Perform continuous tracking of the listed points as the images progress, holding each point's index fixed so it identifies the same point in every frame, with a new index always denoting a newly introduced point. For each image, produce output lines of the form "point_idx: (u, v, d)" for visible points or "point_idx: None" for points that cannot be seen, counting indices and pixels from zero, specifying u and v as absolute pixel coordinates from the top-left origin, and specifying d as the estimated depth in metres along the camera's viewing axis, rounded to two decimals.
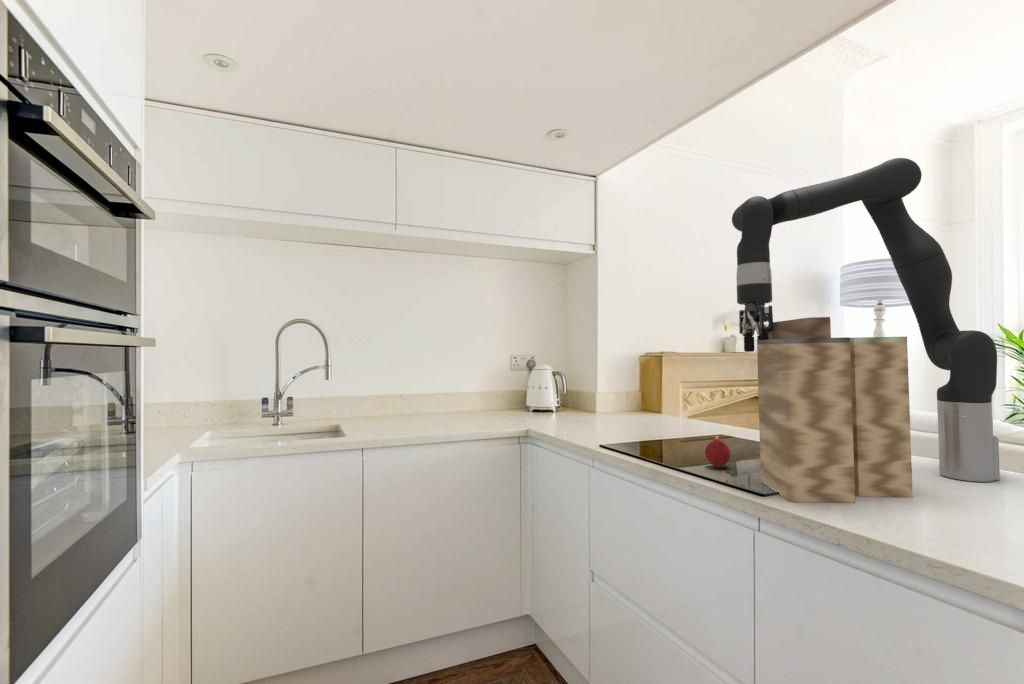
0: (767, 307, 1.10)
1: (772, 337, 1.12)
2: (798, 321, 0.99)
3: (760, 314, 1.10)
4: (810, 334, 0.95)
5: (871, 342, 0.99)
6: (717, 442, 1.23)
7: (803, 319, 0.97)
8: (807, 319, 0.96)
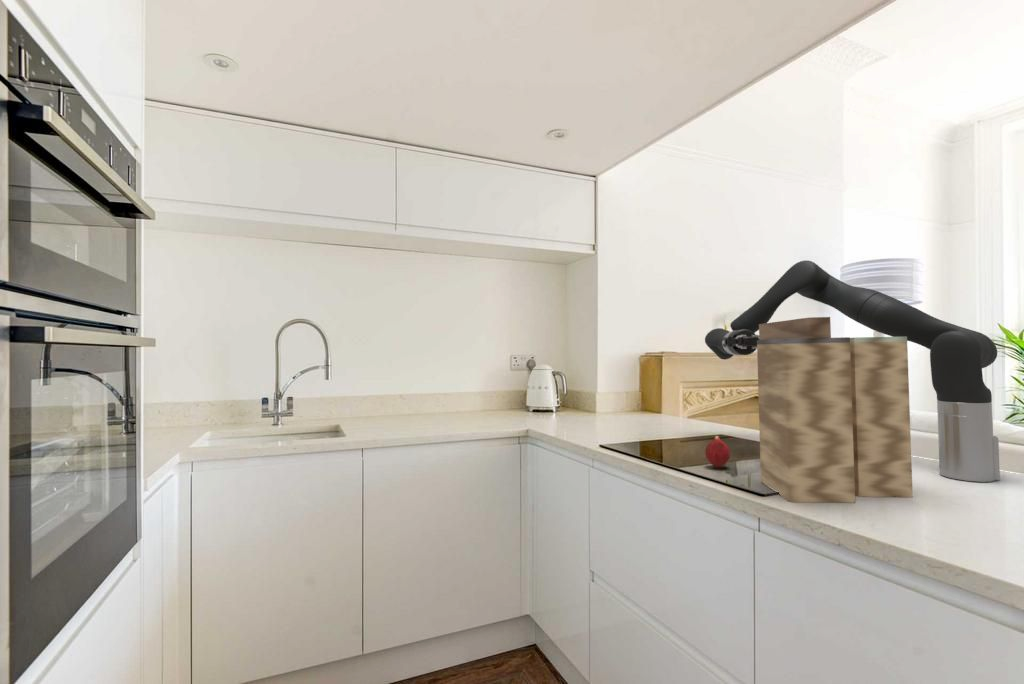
0: (722, 341, 1.40)
1: (772, 337, 1.12)
2: (798, 321, 0.99)
3: None
4: (810, 334, 0.95)
5: (871, 342, 0.99)
6: (717, 442, 1.23)
7: (803, 319, 0.97)
8: (807, 319, 0.96)
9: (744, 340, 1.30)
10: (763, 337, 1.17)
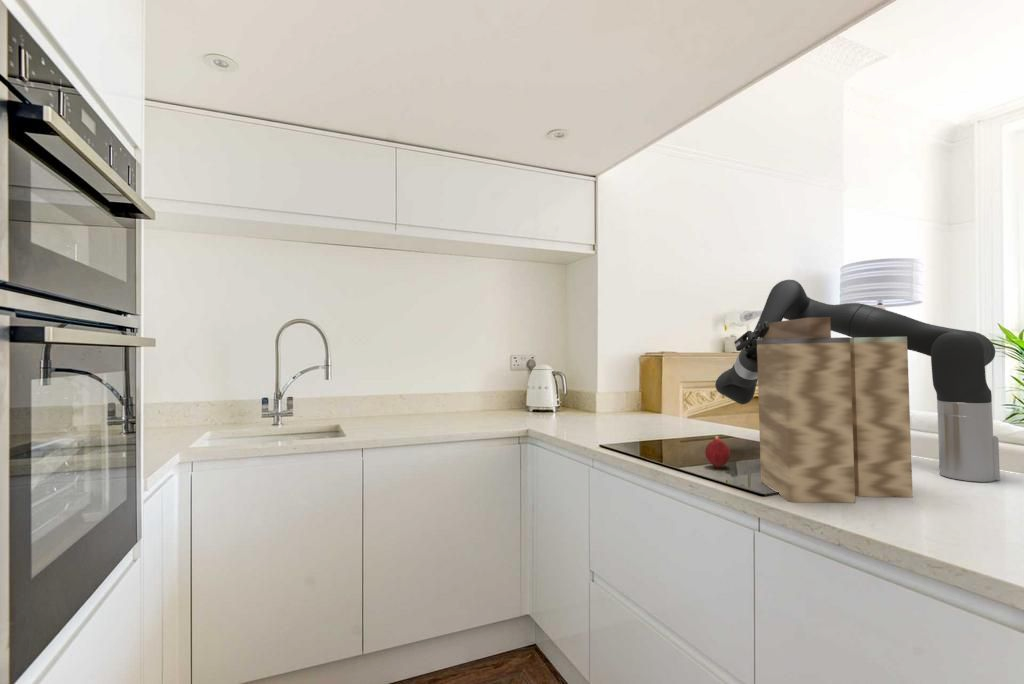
0: (735, 344, 1.22)
1: (772, 337, 1.12)
2: (798, 321, 0.99)
3: (742, 347, 1.21)
4: (810, 334, 0.95)
5: (871, 342, 0.99)
6: (717, 442, 1.23)
7: (803, 319, 0.97)
8: (807, 319, 0.96)
9: (766, 324, 1.14)
10: (763, 337, 1.17)
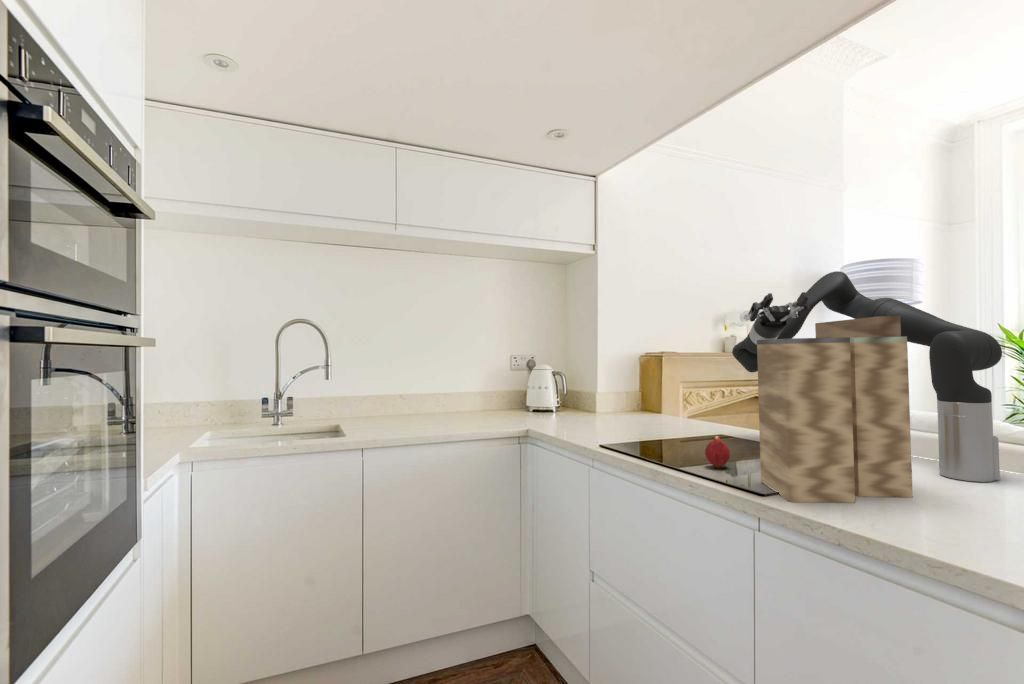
0: (749, 316, 1.39)
1: (832, 336, 1.12)
2: (865, 320, 1.00)
3: (753, 317, 1.37)
4: (879, 333, 0.96)
5: (871, 342, 0.99)
6: (717, 442, 1.23)
7: (871, 318, 0.98)
8: (877, 318, 0.96)
9: (770, 295, 1.30)
10: (820, 336, 1.18)
